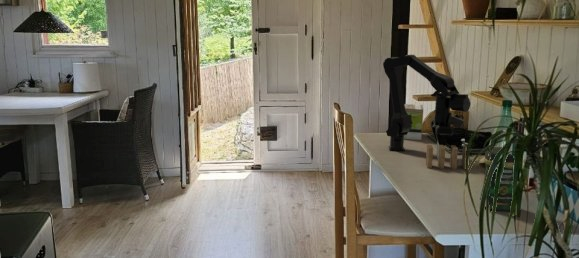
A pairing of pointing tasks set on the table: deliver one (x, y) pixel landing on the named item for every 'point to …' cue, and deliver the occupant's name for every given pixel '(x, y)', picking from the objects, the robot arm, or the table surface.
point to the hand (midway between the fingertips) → (439, 147)
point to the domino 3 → (441, 156)
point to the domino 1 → (429, 156)
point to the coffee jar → (505, 183)
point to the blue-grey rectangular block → (437, 149)
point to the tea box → (415, 121)
